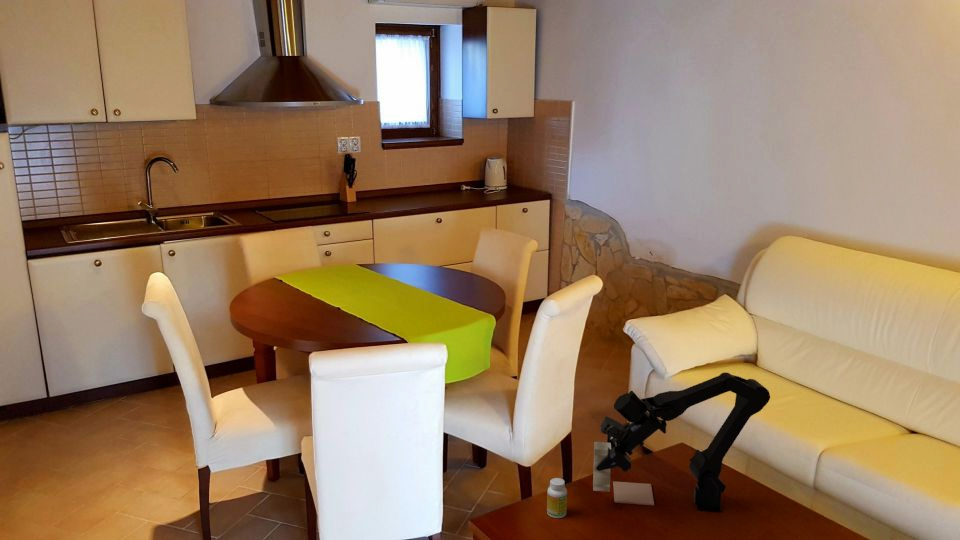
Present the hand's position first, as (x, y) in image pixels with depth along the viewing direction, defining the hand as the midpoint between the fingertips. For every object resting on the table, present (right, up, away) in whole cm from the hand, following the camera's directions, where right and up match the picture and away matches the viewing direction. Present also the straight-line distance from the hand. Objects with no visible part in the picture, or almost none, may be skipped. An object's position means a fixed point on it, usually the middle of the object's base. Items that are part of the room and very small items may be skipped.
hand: (597, 465), depth 201 cm
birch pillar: (+1, -6, +1) cm, 7 cm away
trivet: (+12, -11, +9) cm, 18 cm away
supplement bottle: (-11, -13, -1) cm, 17 cm away
